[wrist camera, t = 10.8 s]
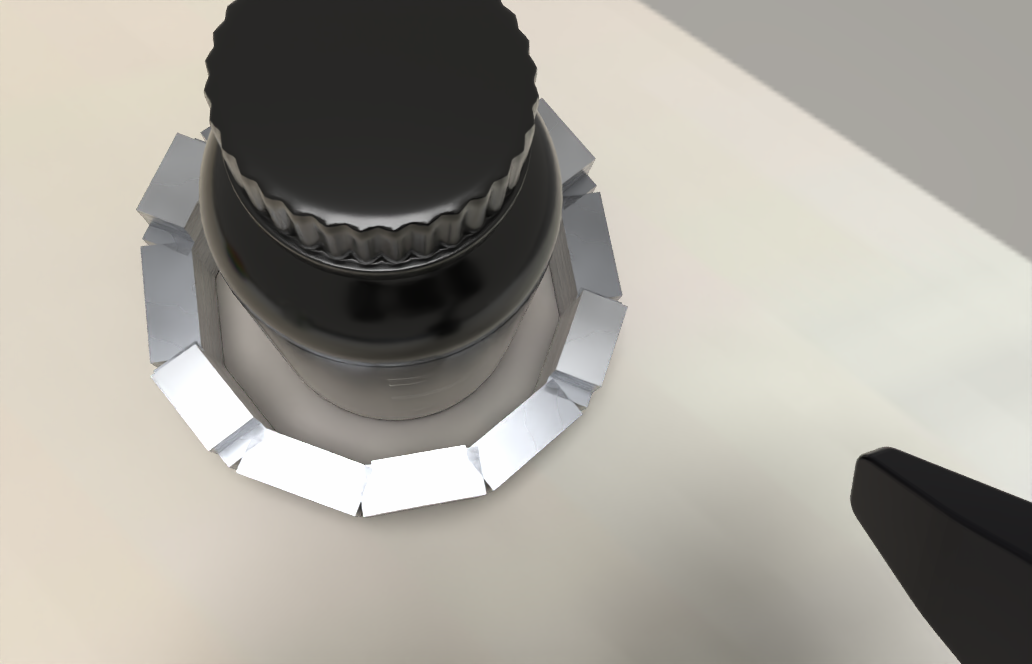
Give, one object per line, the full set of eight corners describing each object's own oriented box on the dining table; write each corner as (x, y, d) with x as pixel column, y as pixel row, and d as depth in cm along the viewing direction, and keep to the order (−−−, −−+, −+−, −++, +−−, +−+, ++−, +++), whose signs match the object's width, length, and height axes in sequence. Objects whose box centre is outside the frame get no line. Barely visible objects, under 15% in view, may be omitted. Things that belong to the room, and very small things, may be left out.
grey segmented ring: (353, 606, 21) (342, 623, 17) (84, 263, 22) (25, 216, 18) (674, 330, 24) (718, 299, 20) (423, 42, 25) (426, -34, 21)
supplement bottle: (522, 212, 24) (631, -78, 12) (500, 435, 22) (602, 343, 11) (293, 180, 23) (180, -161, 12) (253, 408, 21) (72, 277, 10)
